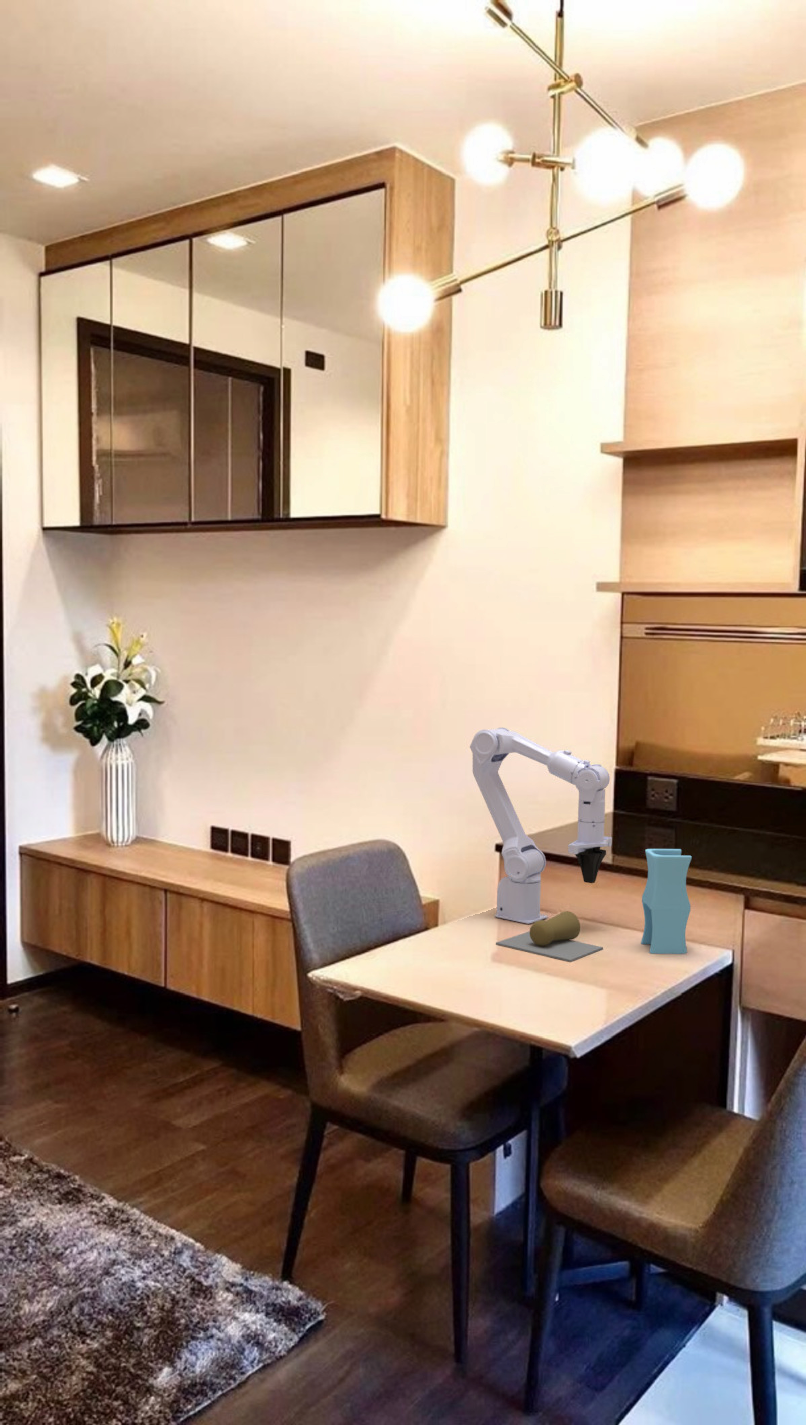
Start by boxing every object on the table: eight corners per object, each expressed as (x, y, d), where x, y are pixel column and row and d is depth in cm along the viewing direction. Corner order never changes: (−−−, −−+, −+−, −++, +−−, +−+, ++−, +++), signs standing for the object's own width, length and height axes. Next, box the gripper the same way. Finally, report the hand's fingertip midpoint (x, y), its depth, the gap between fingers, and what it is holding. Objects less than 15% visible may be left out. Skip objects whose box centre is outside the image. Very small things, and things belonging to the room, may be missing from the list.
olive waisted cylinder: (552, 927, 233) (520, 937, 225) (564, 905, 231) (532, 913, 223) (573, 945, 229) (541, 955, 222) (584, 922, 227) (552, 932, 219)
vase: (688, 954, 221) (692, 856, 220) (650, 953, 221) (653, 856, 219) (677, 943, 229) (680, 849, 227) (640, 943, 228) (643, 848, 227)
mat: (495, 944, 225) (495, 942, 225) (529, 933, 235) (529, 931, 235) (570, 962, 214) (570, 960, 214) (602, 949, 223) (603, 947, 223)
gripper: (588, 826, 229) (587, 890, 230) (624, 819, 240) (622, 880, 241) (560, 822, 234) (559, 885, 235) (596, 815, 245) (595, 875, 246)
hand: (589, 882), depth 238 cm, fingers closed
